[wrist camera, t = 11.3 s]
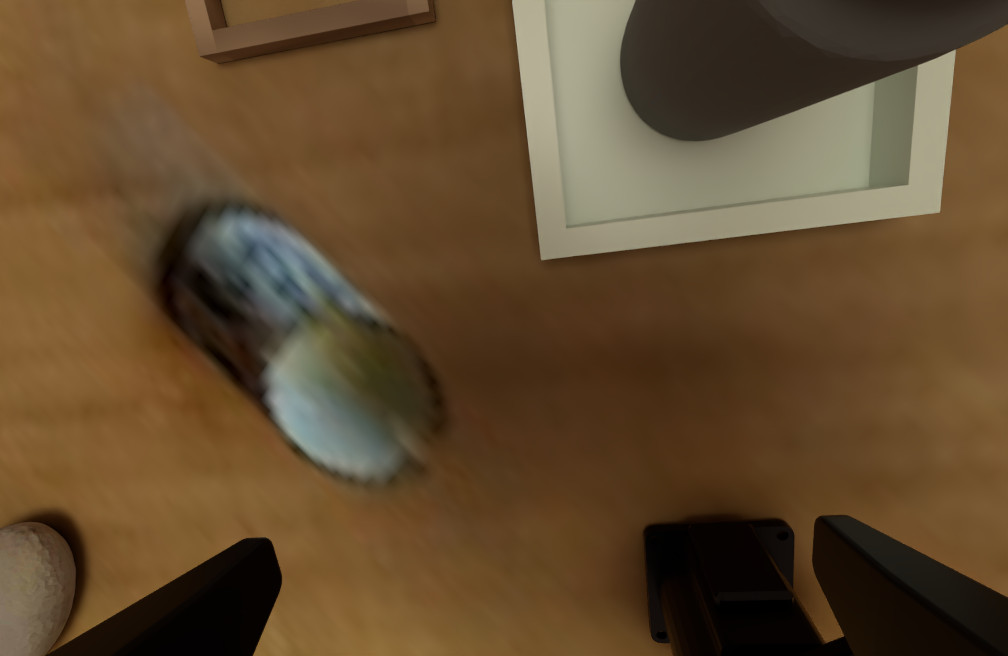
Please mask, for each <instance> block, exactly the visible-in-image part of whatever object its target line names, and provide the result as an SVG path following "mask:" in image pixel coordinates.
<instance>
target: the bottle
mask: <svg viewBox="0 0 1008 656" xmlns="http://www.w3.org/2000/svg"><path fill="white" fill-rule="evenodd" d="M1007 24H1008V0H636V1H635V3H634V6H633V8H632V11H631V14H630V16H629V19H628V21H627V24H626V28H625V32H624V36H623V40H622V45H621V52H620V68H621V76H622V81H623V86H624V90H625V92H626V95H627V97H628V100H629V101H630V103H631V105H632V107H633V108H634V110H635V111H636V113H637V114H638V115H639V116H640V118H641V119H642V120H643V121H644V122H645V123H647V124H648V125H649V126H651V127H652V128H653V129H655V130H656V131H658V132H660V133H662V134H663V135H666V136H669V137H671V138H675V139H679V140H685V141H705V140H712V139H717V138H721V137H724V136H727V135H730V134H734V133H736V132H739V131H742V130H745V129H747V128H750V127H753V126H756V125H759V124H761V123H764V122H767V121H770V120H773V119H775V118H778V117H781V116H784V115H786V114H789V113H792V112H794V111H797V110H800V109H803V108H805V107H808V106H811V105H813V104H816V103H819V102H821V101H824V100H827V99H829V98H832V97H835V96H837V95H840V94H843V93H845V92H848V91H851V90H853V89H856V88H859V87H861V86H864V85H867V84H869V83H872V82H875V81H877V80H880V79H883V78H885V77H888V76H891V75H893V74H896V73H899V72H901V71H904V70H907V69H909V68H912V67H915V66H917V65H920V64H923V63H926V62H928V61H931V60H934V59H936V58H938V57H940V56H942V55H945V54H947V53H949V52H951V51H954V50H956V49H958V48H960V47H963V46H965V45H967V44H969V43H971V42H974V41H976V40H978V39H980V38H982V37H984V36H986V35H988V34H990V33H992V32H994V31H996V30H998V29H1000V28H1001V27H1003V26H1005V25H1007Z"/></svg>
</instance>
